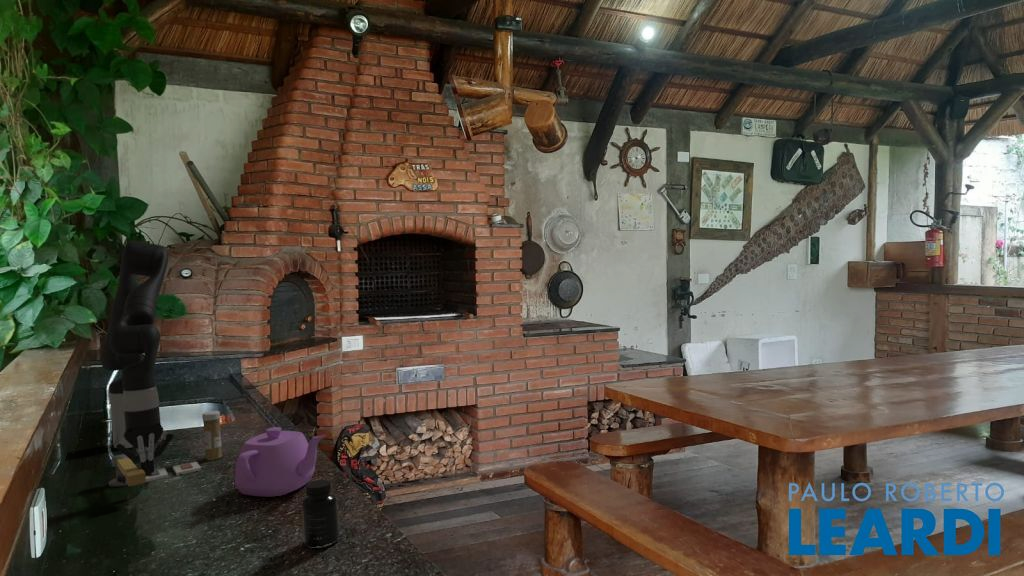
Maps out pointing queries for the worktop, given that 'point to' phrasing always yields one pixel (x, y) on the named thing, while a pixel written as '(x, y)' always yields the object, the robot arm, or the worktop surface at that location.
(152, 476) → the label tile
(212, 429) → the sprinkles bottle
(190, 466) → the label tile
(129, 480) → the swing bar
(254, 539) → the worktop surface
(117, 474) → the post
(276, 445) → the teapot
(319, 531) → the supplement bottle
